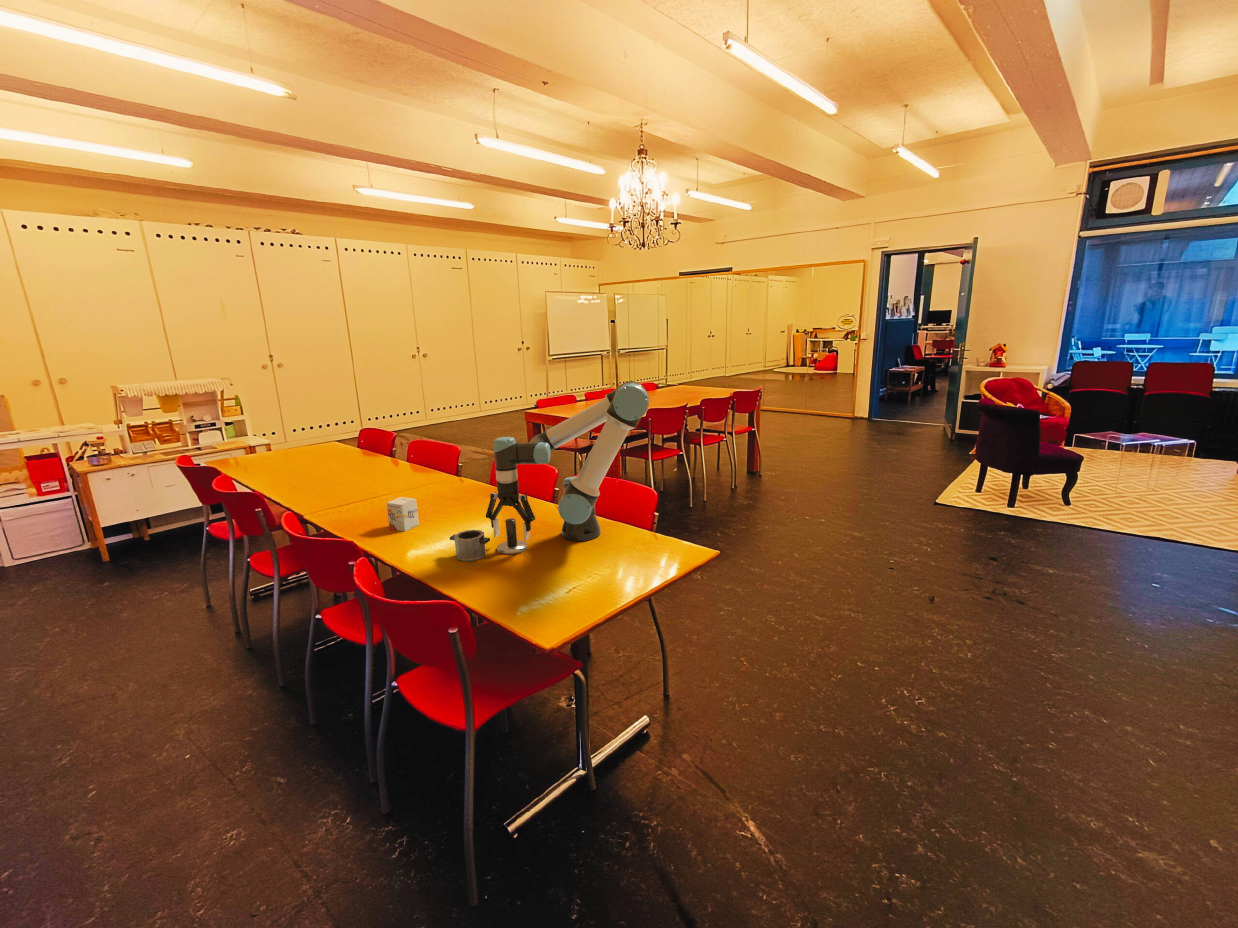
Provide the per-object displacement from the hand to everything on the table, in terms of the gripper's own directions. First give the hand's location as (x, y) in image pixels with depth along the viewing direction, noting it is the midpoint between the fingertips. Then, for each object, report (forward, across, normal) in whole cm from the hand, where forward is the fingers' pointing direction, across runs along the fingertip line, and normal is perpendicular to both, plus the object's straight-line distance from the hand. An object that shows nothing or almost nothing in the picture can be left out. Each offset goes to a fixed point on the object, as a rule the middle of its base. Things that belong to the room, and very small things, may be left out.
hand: (511, 537), depth 197 cm
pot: (+4, +11, +10) cm, 15 cm away
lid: (+4, 0, 0) cm, 4 cm away
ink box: (+5, +56, -9) cm, 57 cm away
